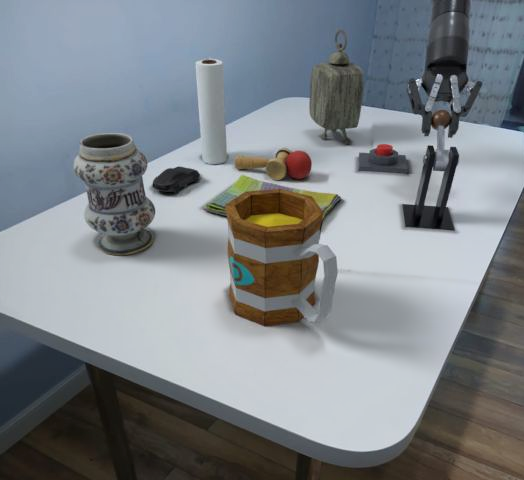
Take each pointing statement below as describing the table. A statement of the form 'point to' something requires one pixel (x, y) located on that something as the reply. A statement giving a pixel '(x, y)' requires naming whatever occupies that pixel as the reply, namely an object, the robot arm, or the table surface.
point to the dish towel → (250, 184)
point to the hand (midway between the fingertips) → (439, 134)
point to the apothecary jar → (115, 192)
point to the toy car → (175, 179)
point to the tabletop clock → (336, 92)
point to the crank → (440, 139)
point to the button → (384, 150)
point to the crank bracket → (440, 213)
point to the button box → (382, 162)
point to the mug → (277, 257)
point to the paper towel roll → (211, 110)
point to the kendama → (279, 164)
